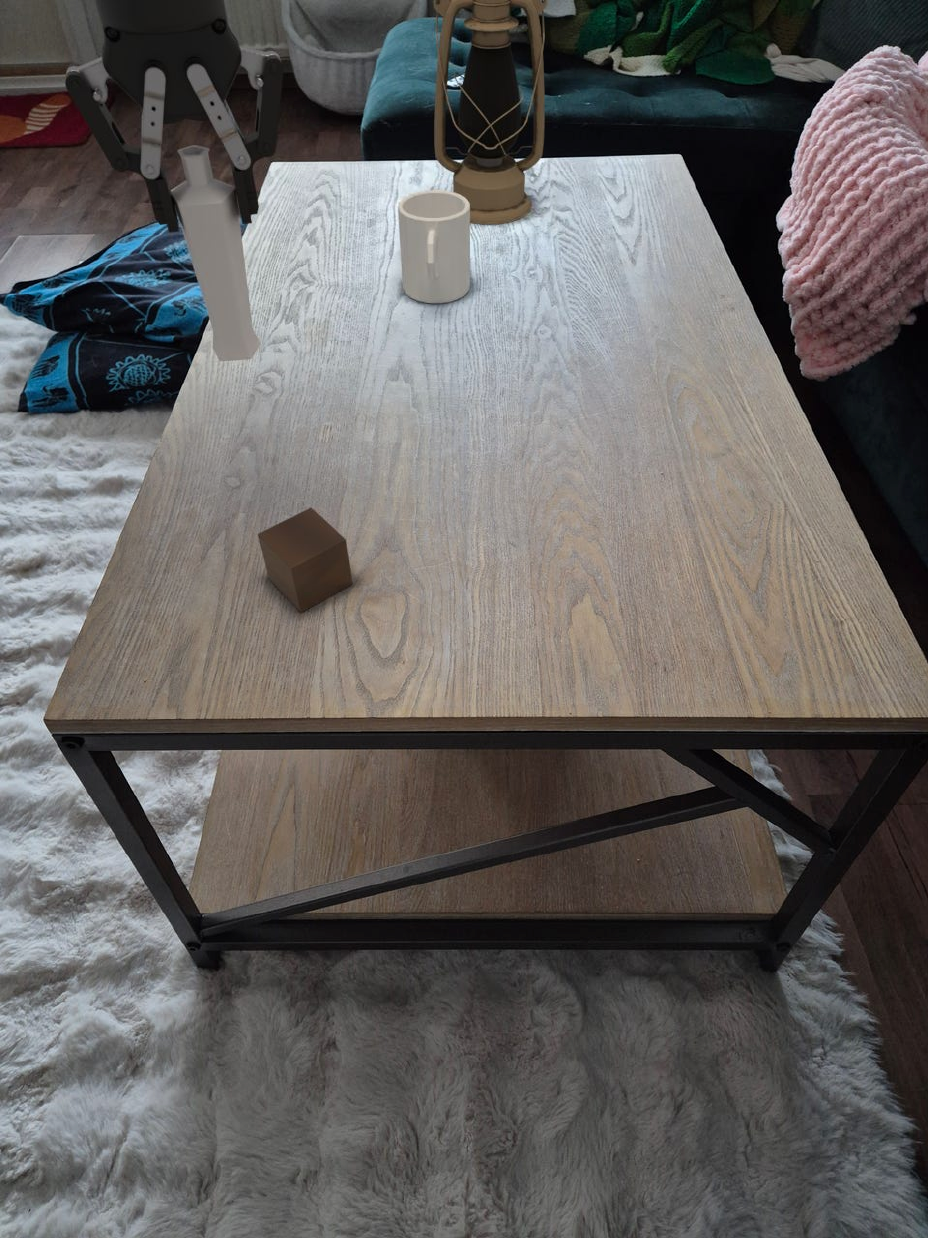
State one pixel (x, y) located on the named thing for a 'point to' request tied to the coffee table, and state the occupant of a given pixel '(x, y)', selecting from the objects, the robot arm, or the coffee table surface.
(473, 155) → the lantern
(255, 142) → the robot arm
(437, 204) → the mug
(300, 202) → the coffee table surface
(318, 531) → the walnut block
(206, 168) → the perfume bottle
